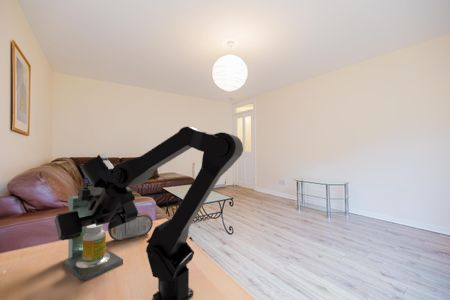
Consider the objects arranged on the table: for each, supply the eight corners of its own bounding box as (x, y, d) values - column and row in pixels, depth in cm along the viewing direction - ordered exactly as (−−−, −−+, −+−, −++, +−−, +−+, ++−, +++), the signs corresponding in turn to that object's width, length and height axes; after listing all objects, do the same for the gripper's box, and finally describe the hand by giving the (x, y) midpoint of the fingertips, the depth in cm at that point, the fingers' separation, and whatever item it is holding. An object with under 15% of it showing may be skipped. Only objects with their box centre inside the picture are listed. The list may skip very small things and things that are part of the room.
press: (123, 263, 57) (123, 200, 57) (82, 282, 48) (83, 208, 49) (88, 241, 70) (88, 190, 70) (51, 252, 62) (52, 195, 62)
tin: (151, 231, 79) (151, 210, 79) (153, 234, 77) (153, 212, 77) (107, 240, 71) (108, 217, 71) (108, 244, 68) (108, 219, 68)
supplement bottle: (94, 266, 53) (94, 229, 53) (77, 263, 54) (77, 227, 54) (109, 255, 58) (110, 222, 58) (94, 253, 59) (94, 220, 59)
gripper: (133, 173, 62) (115, 203, 68) (57, 180, 47) (43, 218, 53) (148, 202, 57) (127, 231, 63) (69, 220, 42) (52, 257, 48)
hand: (91, 233), depth 57 cm, fingers open, 9 cm apart
